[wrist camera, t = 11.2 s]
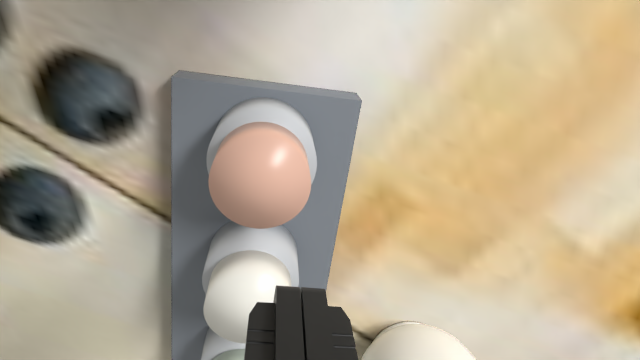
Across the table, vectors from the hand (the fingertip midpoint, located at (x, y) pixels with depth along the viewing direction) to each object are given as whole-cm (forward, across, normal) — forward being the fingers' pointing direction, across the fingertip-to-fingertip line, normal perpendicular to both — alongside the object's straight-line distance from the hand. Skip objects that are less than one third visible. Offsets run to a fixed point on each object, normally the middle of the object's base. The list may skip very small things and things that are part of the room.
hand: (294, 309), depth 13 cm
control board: (+16, +1, +8) cm, 18 cm away
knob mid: (+11, +1, +8) cm, 14 cm away
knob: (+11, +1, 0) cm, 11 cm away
